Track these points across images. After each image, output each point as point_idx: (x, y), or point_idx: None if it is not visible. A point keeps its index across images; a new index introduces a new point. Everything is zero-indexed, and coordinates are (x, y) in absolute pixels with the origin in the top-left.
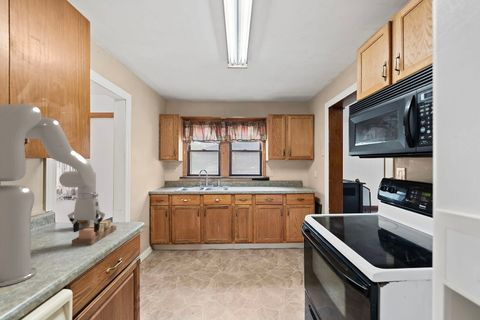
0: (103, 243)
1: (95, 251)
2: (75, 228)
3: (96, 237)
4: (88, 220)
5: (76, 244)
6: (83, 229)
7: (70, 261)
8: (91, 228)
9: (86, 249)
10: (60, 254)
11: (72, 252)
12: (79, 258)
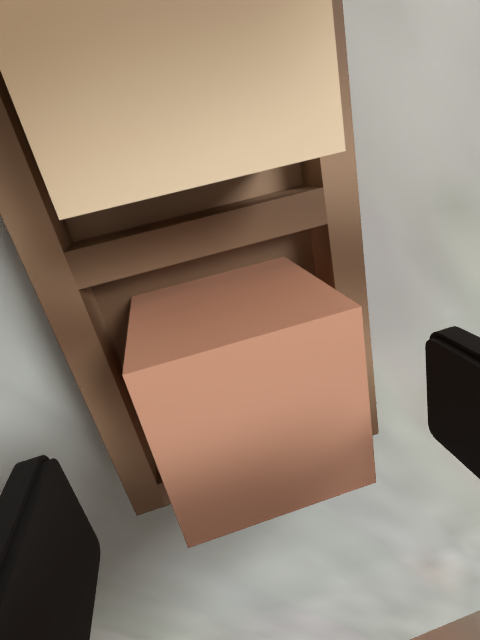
0: (439, 323)
1: (471, 486)
2: (88, 615)
3: (365, 325)
4: None
5: None
6: (157, 439)
7: (408, 627)
8: (277, 334)
9: (374, 483)
10: (244, 606)
11: (306, 556)
12: (433, 589)
